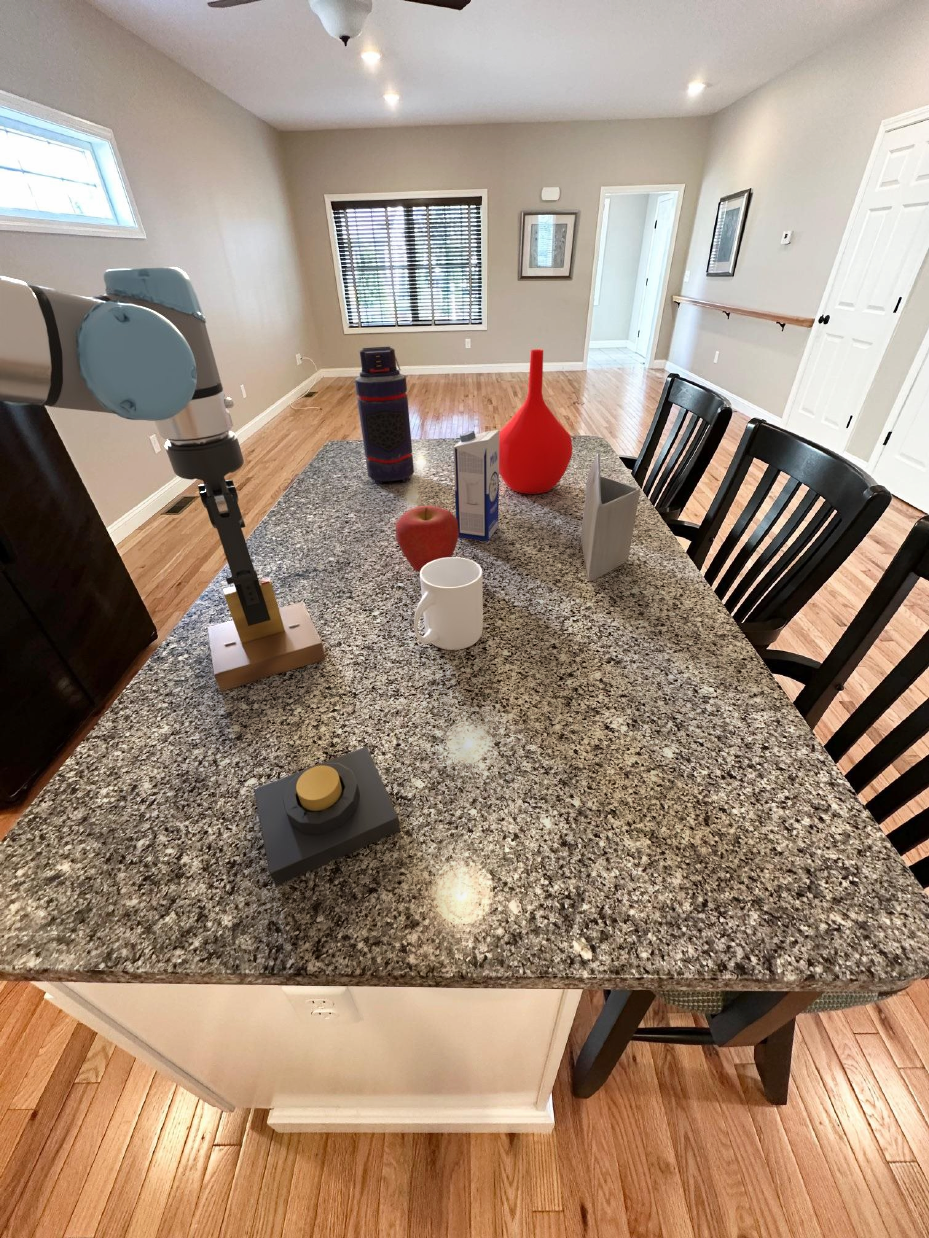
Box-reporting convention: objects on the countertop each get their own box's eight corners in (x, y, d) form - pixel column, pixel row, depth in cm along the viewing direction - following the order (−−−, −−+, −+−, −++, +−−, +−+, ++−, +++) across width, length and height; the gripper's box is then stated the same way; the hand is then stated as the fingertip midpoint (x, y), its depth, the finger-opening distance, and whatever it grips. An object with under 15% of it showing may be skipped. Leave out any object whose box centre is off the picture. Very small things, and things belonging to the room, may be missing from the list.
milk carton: (488, 541, 101) (487, 438, 90) (456, 537, 103) (452, 435, 92) (498, 527, 107) (499, 428, 95) (468, 523, 109) (465, 425, 97)
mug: (396, 647, 74) (388, 584, 68) (452, 611, 82) (449, 551, 75) (439, 672, 70) (434, 606, 63) (494, 631, 77) (495, 569, 71)
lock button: (304, 818, 48) (300, 806, 47) (296, 786, 51) (292, 774, 50) (346, 801, 49) (343, 789, 48) (335, 770, 52) (332, 759, 51)
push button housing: (275, 886, 46) (264, 862, 44) (259, 801, 54) (248, 777, 51) (400, 830, 50) (396, 805, 48) (369, 758, 58) (364, 734, 55)
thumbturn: (241, 643, 71) (223, 593, 66) (239, 637, 72) (222, 587, 68) (285, 631, 73) (271, 581, 69) (283, 625, 74) (269, 576, 70)
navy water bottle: (416, 483, 129) (405, 350, 112) (369, 488, 128) (350, 353, 111) (411, 466, 140) (400, 342, 123) (367, 470, 139) (350, 345, 122)
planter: (635, 582, 87) (657, 470, 76) (588, 581, 88) (602, 470, 77) (621, 540, 100) (637, 439, 89) (580, 539, 101) (591, 439, 90)
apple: (400, 558, 97) (393, 497, 90) (457, 554, 97) (454, 493, 90) (400, 589, 88) (392, 524, 81) (462, 584, 88) (460, 519, 81)
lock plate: (220, 691, 68) (213, 673, 66) (213, 643, 76) (206, 625, 75) (325, 659, 73) (321, 641, 71) (307, 617, 81) (303, 600, 80)
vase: (571, 476, 130) (583, 344, 113) (566, 503, 116) (579, 357, 99) (500, 472, 134) (501, 344, 117) (486, 498, 120) (486, 356, 103)
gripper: (250, 460, 49) (298, 636, 61) (224, 408, 68) (265, 551, 80) (164, 474, 46) (232, 655, 59) (161, 416, 65) (214, 563, 77)
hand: (251, 596), depth 69 cm, fingers open, 13 cm apart
